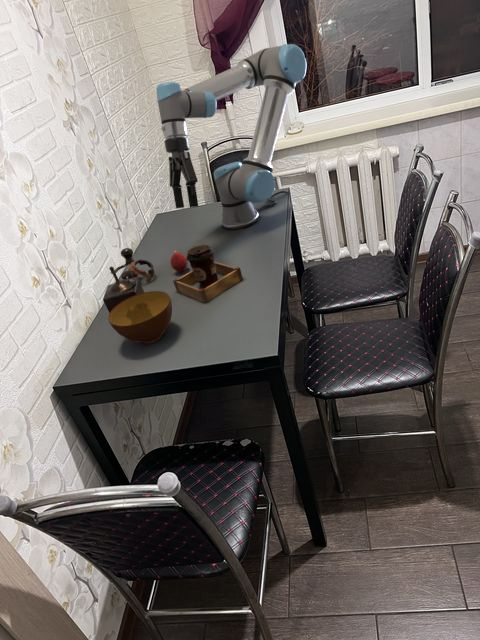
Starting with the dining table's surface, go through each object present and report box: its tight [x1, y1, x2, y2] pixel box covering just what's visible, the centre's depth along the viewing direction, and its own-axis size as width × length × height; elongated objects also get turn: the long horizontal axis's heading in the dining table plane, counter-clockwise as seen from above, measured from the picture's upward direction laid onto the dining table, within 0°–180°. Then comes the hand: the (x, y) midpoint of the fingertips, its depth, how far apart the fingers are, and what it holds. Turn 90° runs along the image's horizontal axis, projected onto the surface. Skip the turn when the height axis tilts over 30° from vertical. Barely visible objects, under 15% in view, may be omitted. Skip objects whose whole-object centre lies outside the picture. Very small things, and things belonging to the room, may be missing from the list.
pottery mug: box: [120, 259, 155, 283], centre depth 167 cm, size 12×10×8 cm
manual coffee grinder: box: [102, 247, 146, 314], centre depth 147 cm, size 16×11×18 cm
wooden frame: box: [172, 260, 244, 304], centre depth 152 cm, size 16×16×4 cm
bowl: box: [107, 290, 173, 344], centre depth 132 cm, size 18×18×10 cm
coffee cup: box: [186, 244, 219, 289], centre depth 150 cm, size 9×8×13 cm
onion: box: [170, 250, 188, 273], centre depth 165 cm, size 6×6×8 cm
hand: (186, 207), depth 156 cm, fingers open, 13 cm apart
